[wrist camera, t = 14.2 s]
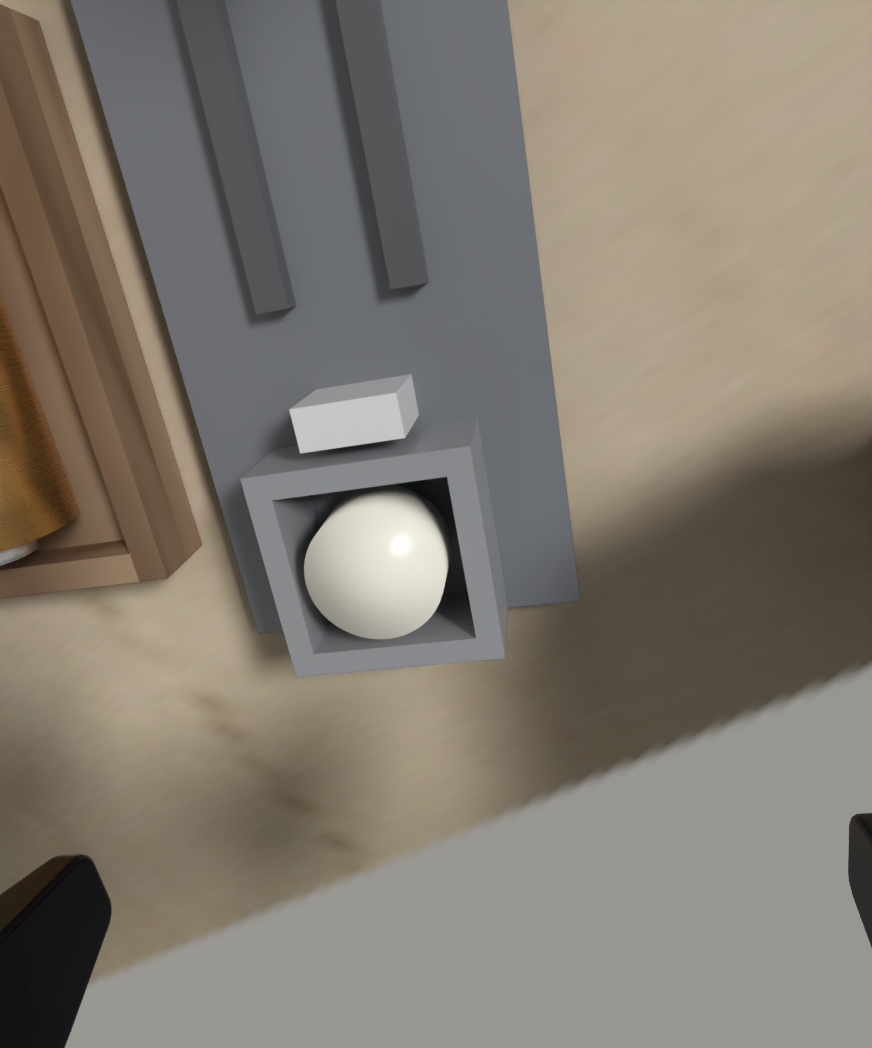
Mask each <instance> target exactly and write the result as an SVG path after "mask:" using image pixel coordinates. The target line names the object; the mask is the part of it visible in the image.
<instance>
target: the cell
mask: <svg viewBox="0 0 872 1048" xmlns="http://www.w3.org/2000/svg"><path fill="white" fill-rule="evenodd" d="M79 512H80V509H79V507H78V504H77V501H76V498H75V496H74V493H73V490H72V488H71V485H70V482H69V479H68V477H67V474H66V471H65V469H64V466H63V463H62V460H61V458H60V455H59V452H58V449H57V447H56V444H55V441H54V439H53V436H52V433H51V430H50V428H49V425H48V422H47V420H46V417H45V414H44V411H43V409H42V406H41V403H40V401H39V398H38V395H37V392H36V390H35V387H34V384H33V382H32V379H31V376H30V373H29V371H28V368H27V365H26V363H25V360H24V357H23V354H22V352H21V349H20V346H19V343H18V341H17V338H16V335H15V333H14V330H13V327H12V324H11V322H10V319H9V316H8V314H7V311H6V308H5V305H4V303H3V300H2V297H1V295H0V566H1V565H4V564H7V563H10V562H13V561H15V560H18V559H20V558H22V557H25V556H26V555H28V554H30V553H32V552H33V551H35V550H36V549H37V547H38V544H37V542H36V539H38V538H41V537H43V536H45V535H47V534H50V533H52V532H54V531H56V530H57V529H59V528H61V527H63V526H65V525H66V524H68V523H69V522H71V521H72V520H73V519H74V518H76V516H77V515H78V514H79Z"/></svg>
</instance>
